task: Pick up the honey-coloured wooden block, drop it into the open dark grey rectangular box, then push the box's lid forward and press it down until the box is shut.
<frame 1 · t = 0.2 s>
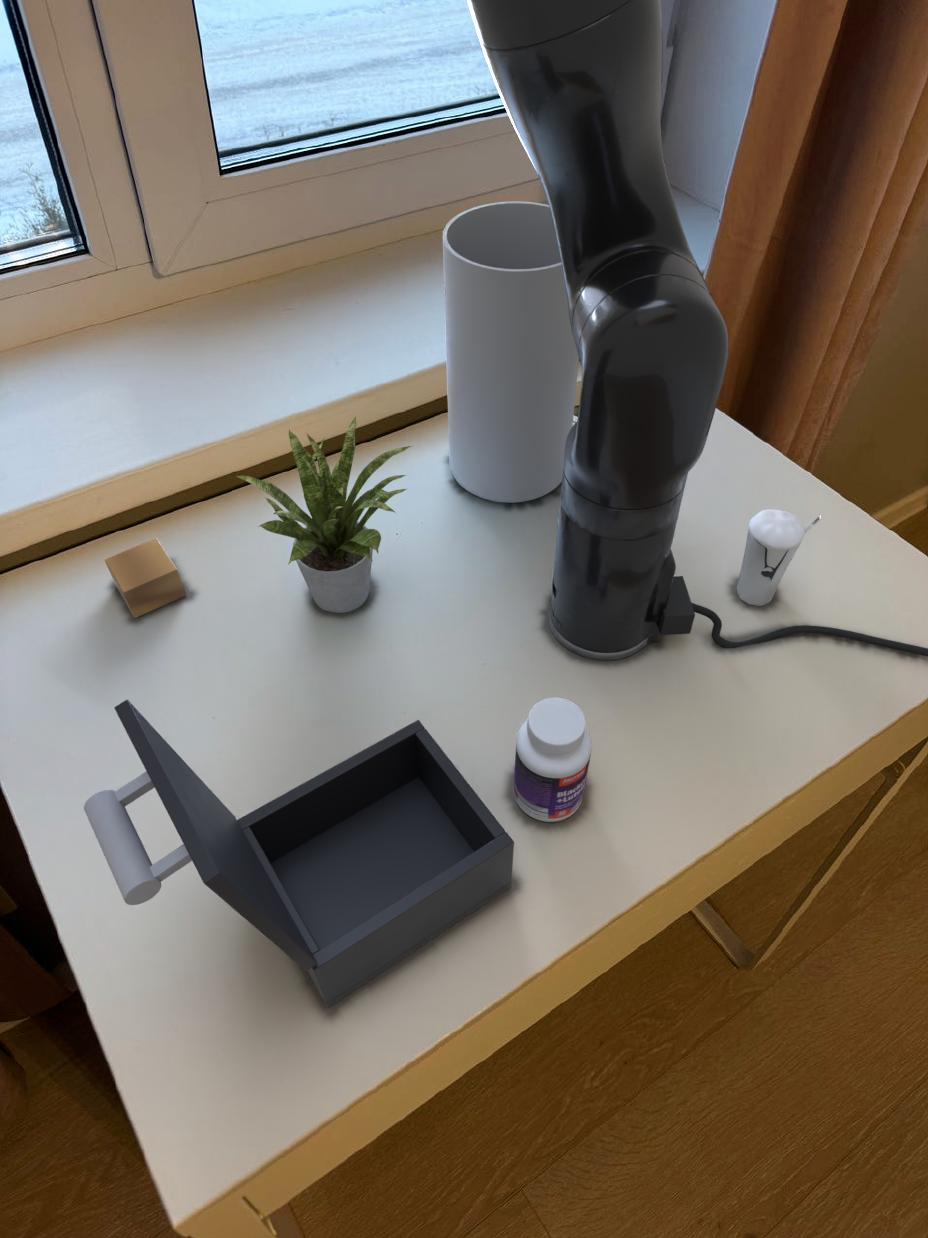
block: (151, 590, 83), on the table
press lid: (190, 865, 49), point 15 cm above the table, hinge at 100.0°
cylinder vase: (508, 468, 95), on the table
dark grey rectangular box: (379, 878, 64), on the table
pill bottle: (548, 793, 69), on the table
milkshake: (758, 595, 82), on the table
house plant: (355, 595, 83), on the table
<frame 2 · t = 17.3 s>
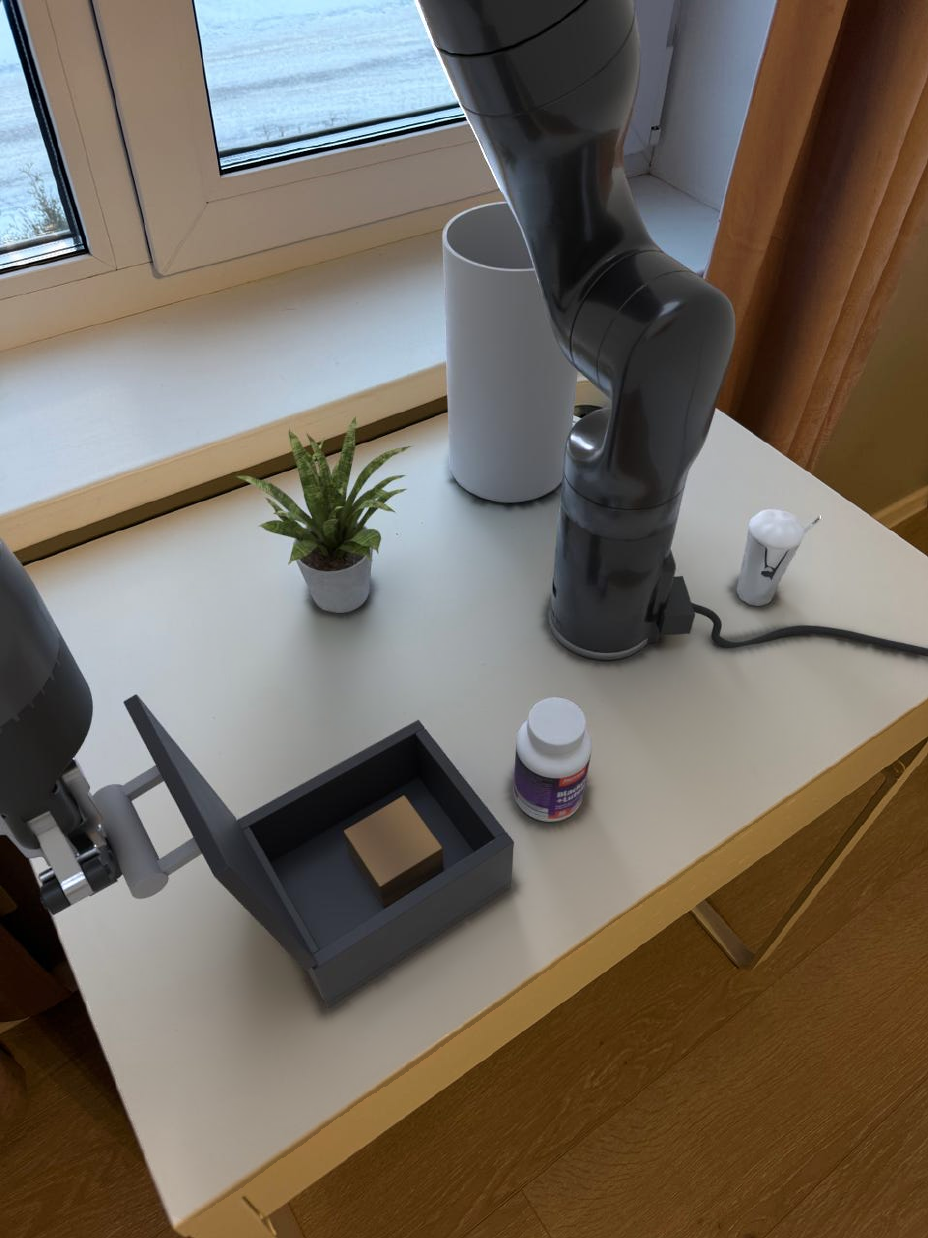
hand: (99, 874, 45), 18 cm above the table, tool pointing down, fingers closed
block: (395, 862, 64), point 1 cm above the table, touching dark grey rectangular box
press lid: (194, 861, 49), point 15 cm above the table, hinge at 98.0°
everything else where it was.
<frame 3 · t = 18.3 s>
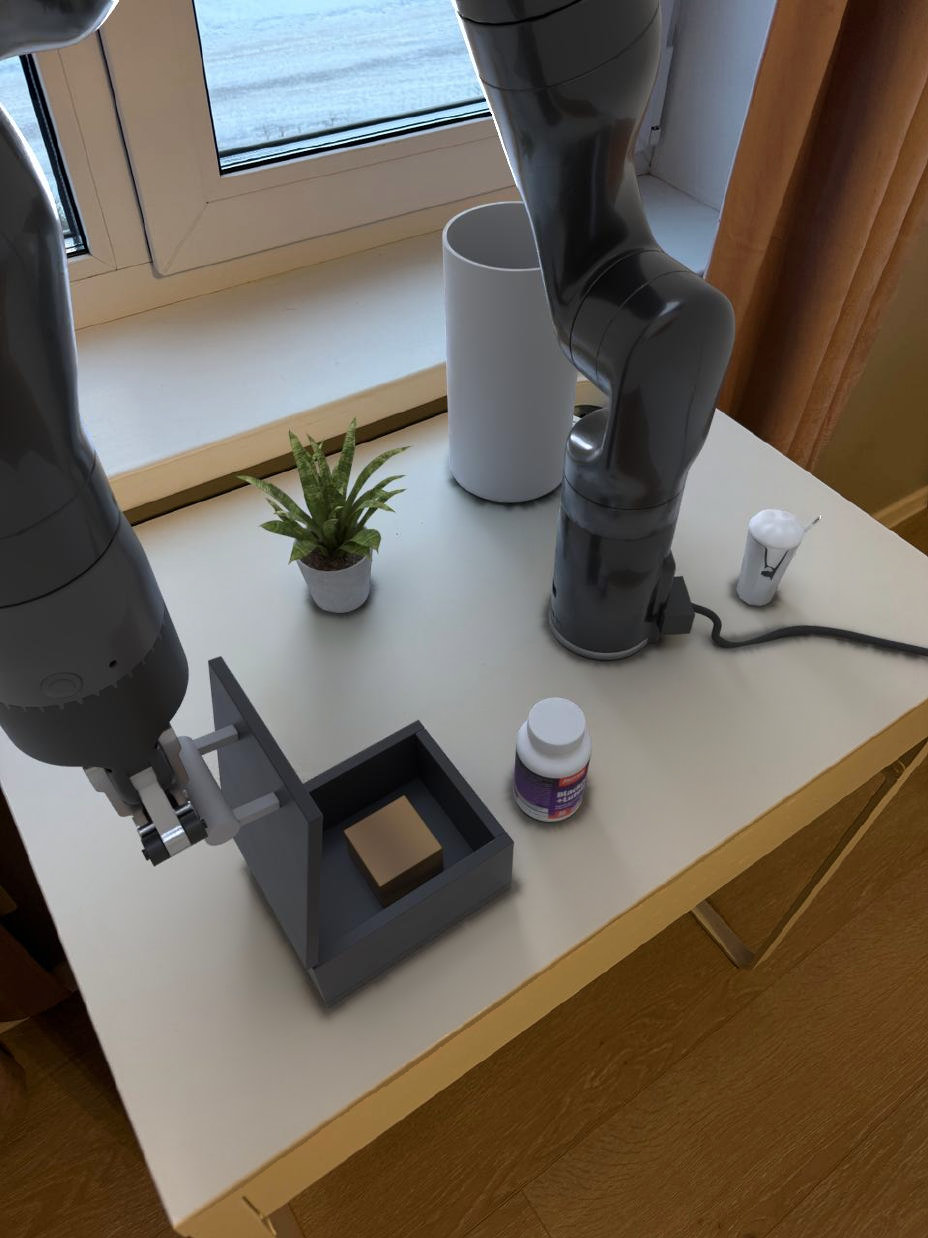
hand: (177, 837, 47), 18 cm above the table, tool pointing down, fingers closed
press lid: (232, 834, 50), point 15 cm above the table, hinge at 80.4°, touching gripper
everything else where it was.
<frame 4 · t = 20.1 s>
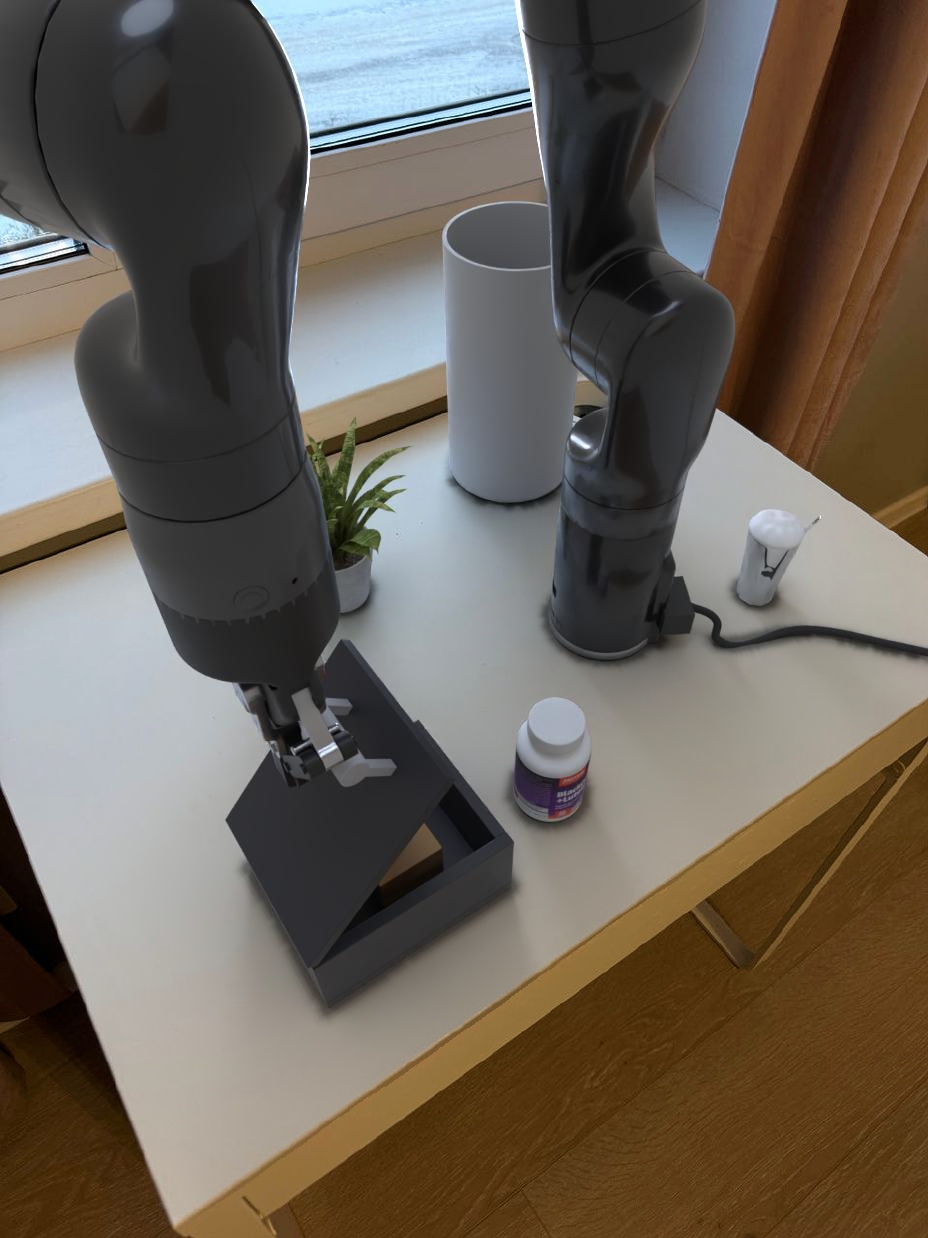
hand: (300, 770, 50), 18 cm above the table, tool pointing down, fingers closed
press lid: (303, 803, 52), point 15 cm above the table, hinge at 48.8°, touching gripper
everything else where it was.
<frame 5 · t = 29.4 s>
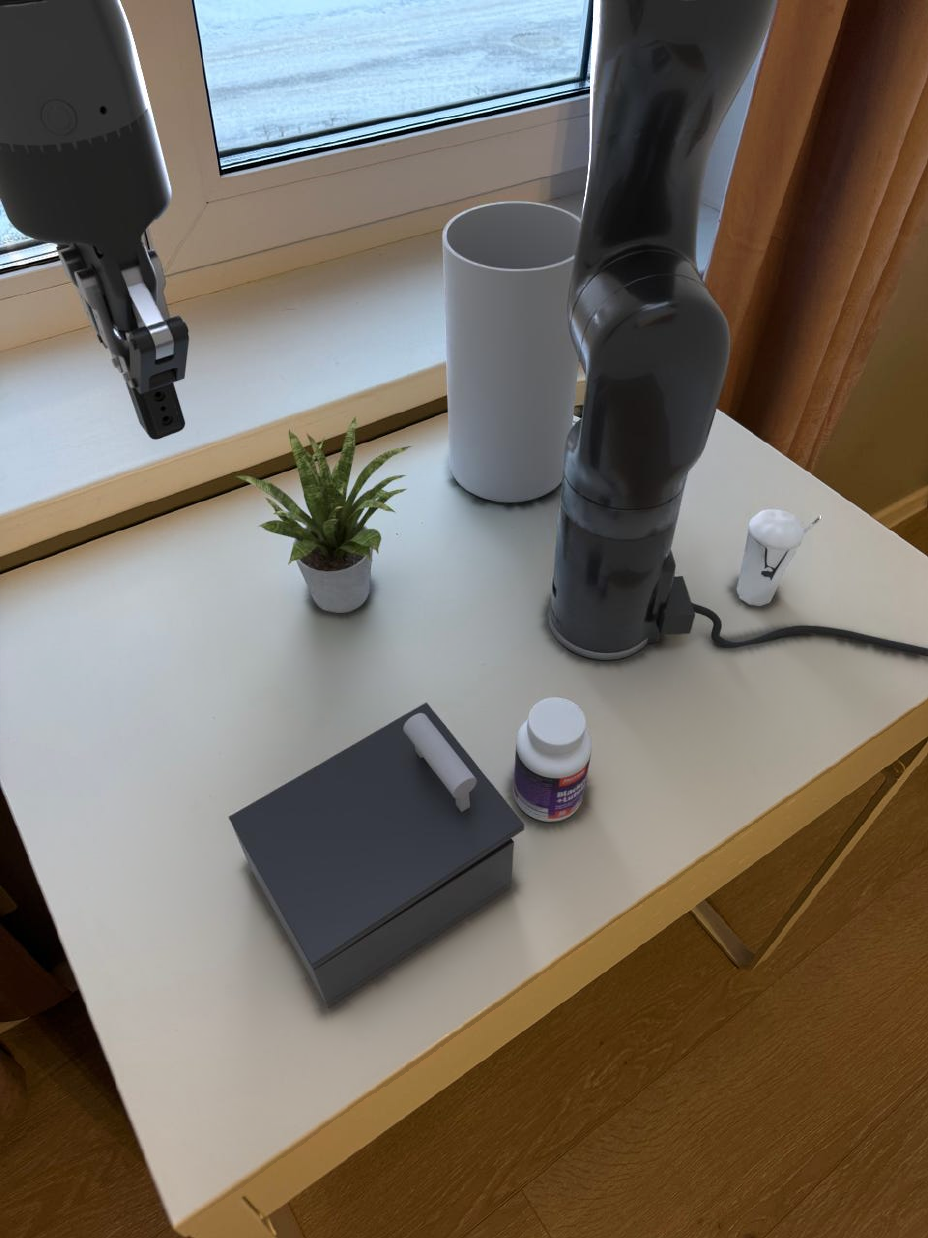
hand: (164, 428, 52), 29 cm above the table, tool pointing down, fingers closed
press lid: (371, 809, 57), point 10 cm above the table, hinge at 2.6°
everything else where it was.
at the end: block inside the target area in the dark grey rectangular box (1.4 cm from its centre), point 0.9 cm above the dark grey rectangular box's base; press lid at +3° (first picture: +100°) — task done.
